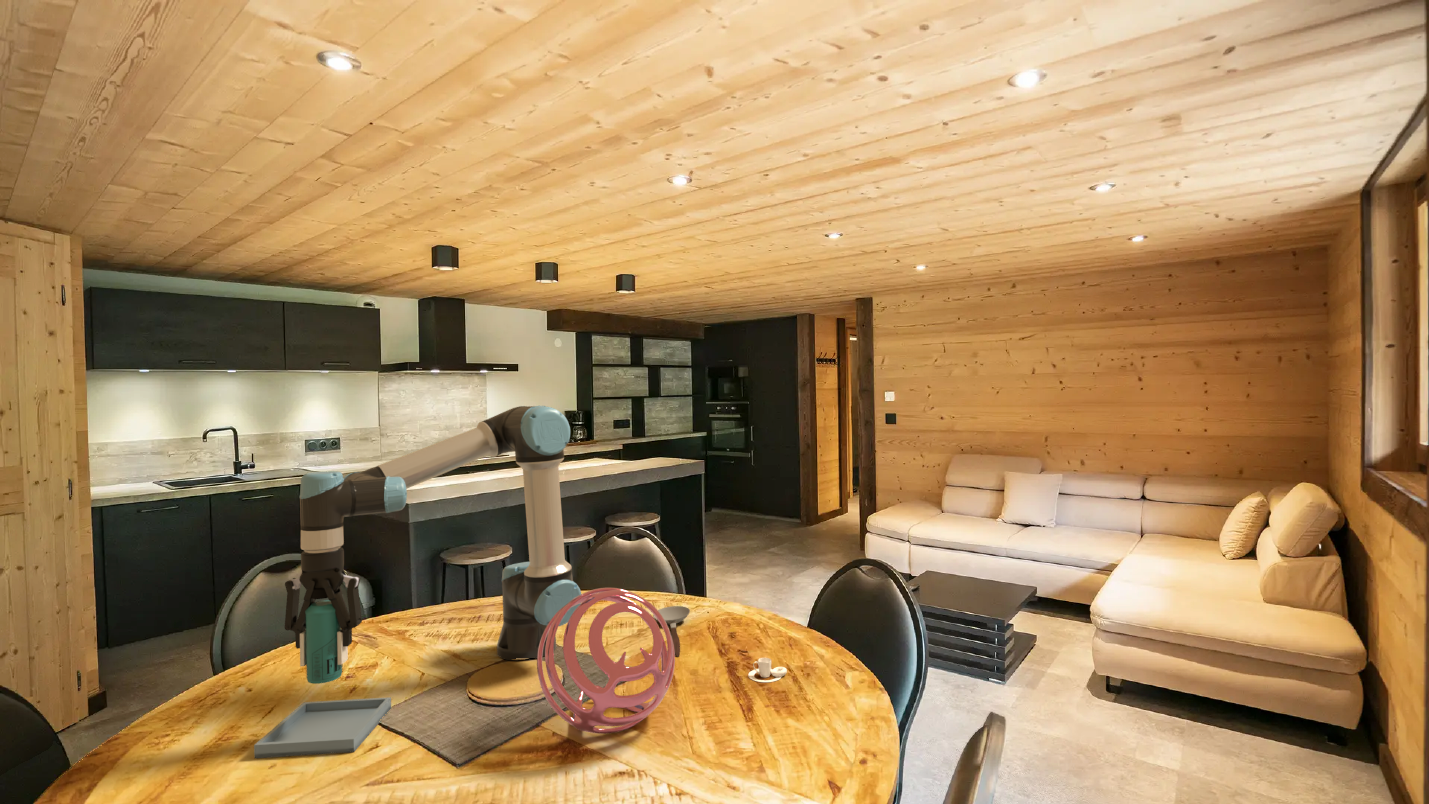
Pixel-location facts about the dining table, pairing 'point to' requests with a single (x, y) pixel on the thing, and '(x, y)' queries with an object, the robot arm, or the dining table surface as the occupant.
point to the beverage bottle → (322, 640)
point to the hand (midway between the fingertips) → (324, 662)
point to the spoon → (674, 622)
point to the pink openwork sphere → (606, 664)
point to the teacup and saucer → (767, 670)
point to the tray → (323, 728)
